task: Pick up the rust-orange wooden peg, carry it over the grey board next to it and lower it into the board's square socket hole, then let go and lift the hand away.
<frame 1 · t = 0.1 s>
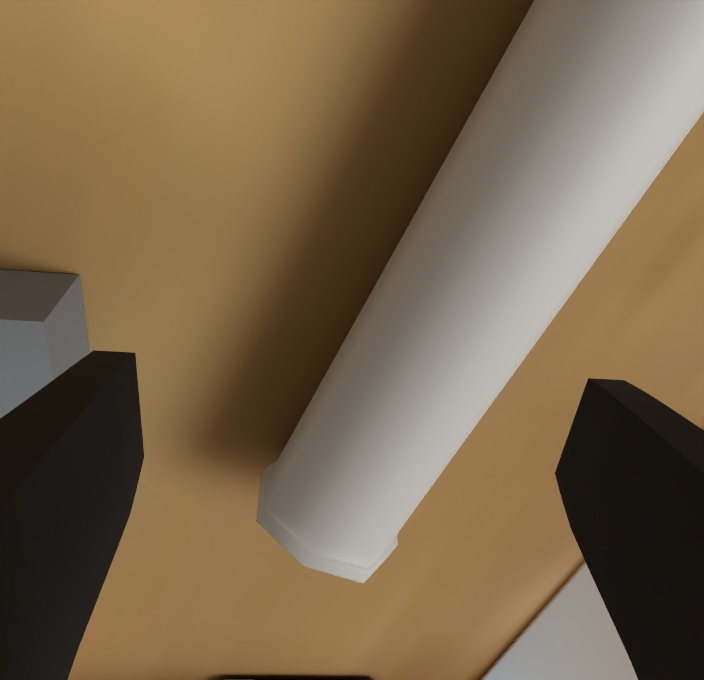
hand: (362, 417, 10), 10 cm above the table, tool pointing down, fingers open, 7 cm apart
tube: (498, 175, 19), on the table
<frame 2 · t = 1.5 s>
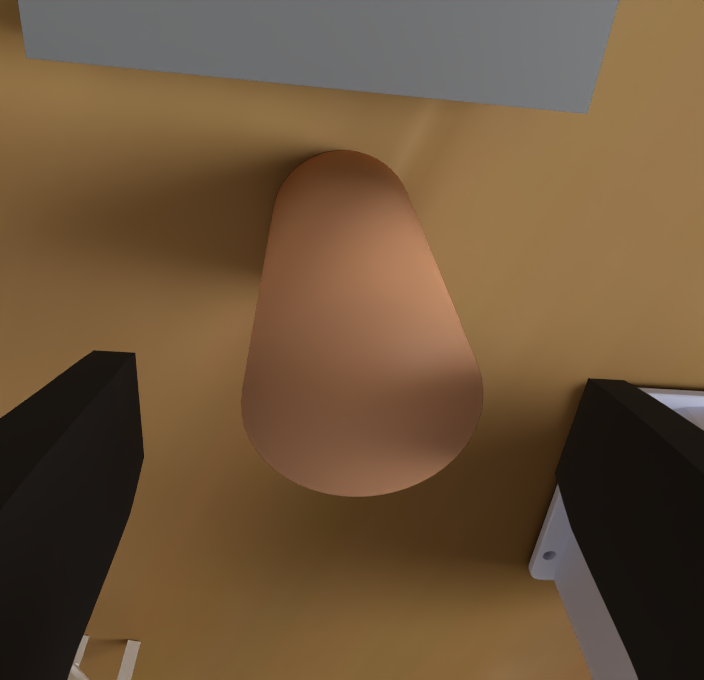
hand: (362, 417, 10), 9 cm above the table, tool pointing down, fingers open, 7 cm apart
peg: (342, 220, 18), on the table
decorative heart: (20, 622, 27), on the table
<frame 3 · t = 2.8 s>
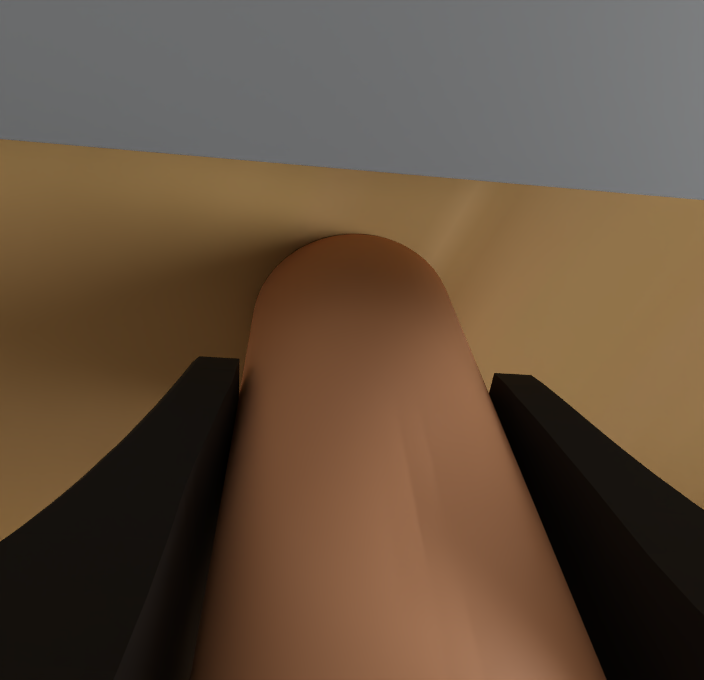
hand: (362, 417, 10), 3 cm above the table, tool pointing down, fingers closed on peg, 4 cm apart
peg: (352, 327, 13), on the table, touching gripper
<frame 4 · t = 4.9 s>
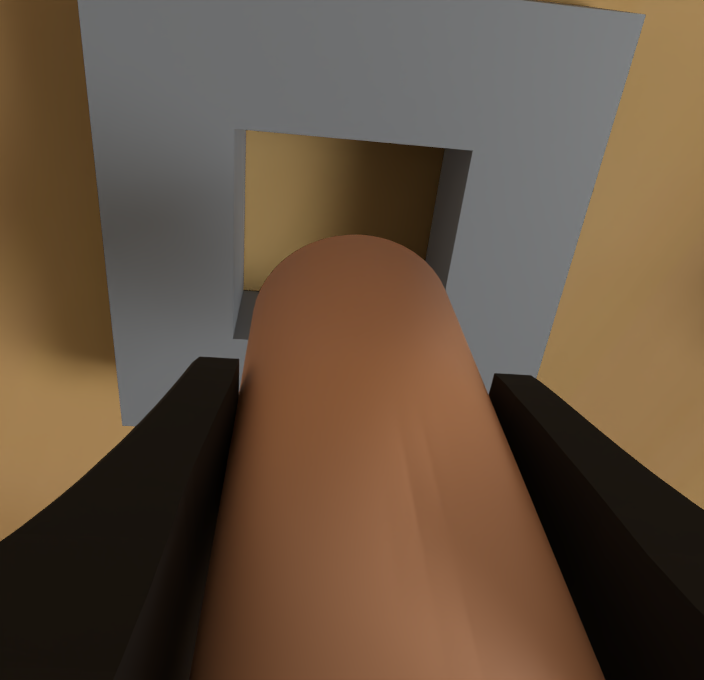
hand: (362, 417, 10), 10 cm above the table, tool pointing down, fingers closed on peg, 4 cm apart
peg: (352, 328, 13), point 7 cm above the table, touching gripper
socket board: (340, 212, 19), on the table
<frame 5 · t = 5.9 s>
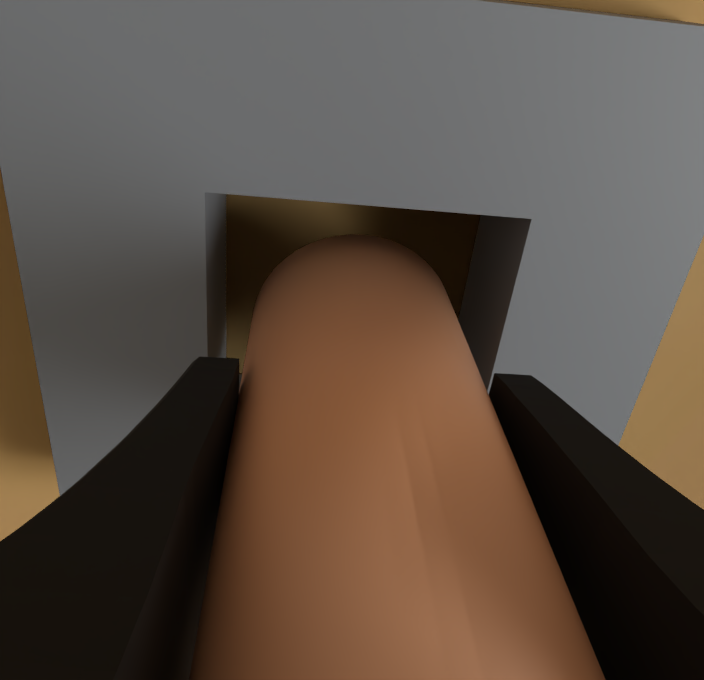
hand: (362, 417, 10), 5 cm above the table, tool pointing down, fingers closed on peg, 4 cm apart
peg: (352, 328, 13), point 2 cm above the table, touching gripper
socket board: (347, 280, 15), on the table
when the fingers open (4 cm above the table, at t = 7.0 s): peg drops 2 cm, resting in socket board.
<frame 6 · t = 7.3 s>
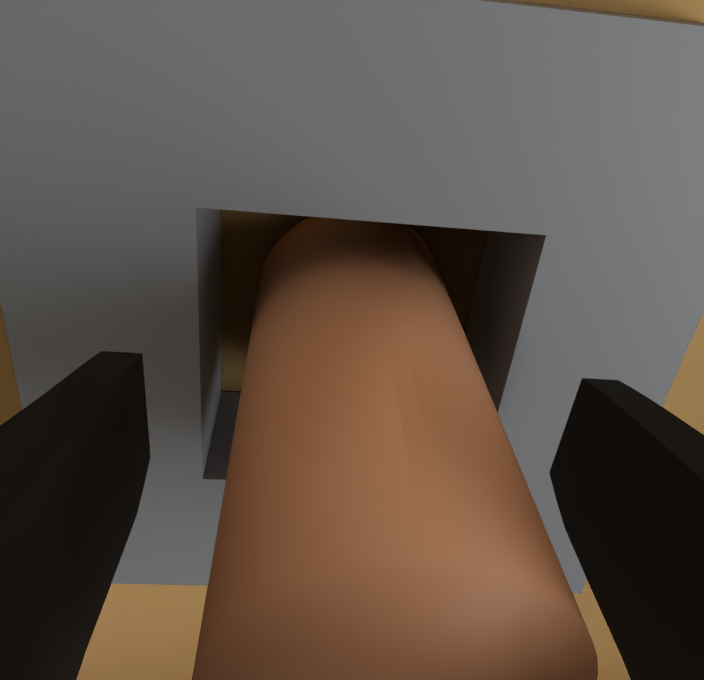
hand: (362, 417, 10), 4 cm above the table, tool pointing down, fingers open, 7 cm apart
peg: (349, 294, 14), resting in socket board
socket board: (349, 294, 14), on the table
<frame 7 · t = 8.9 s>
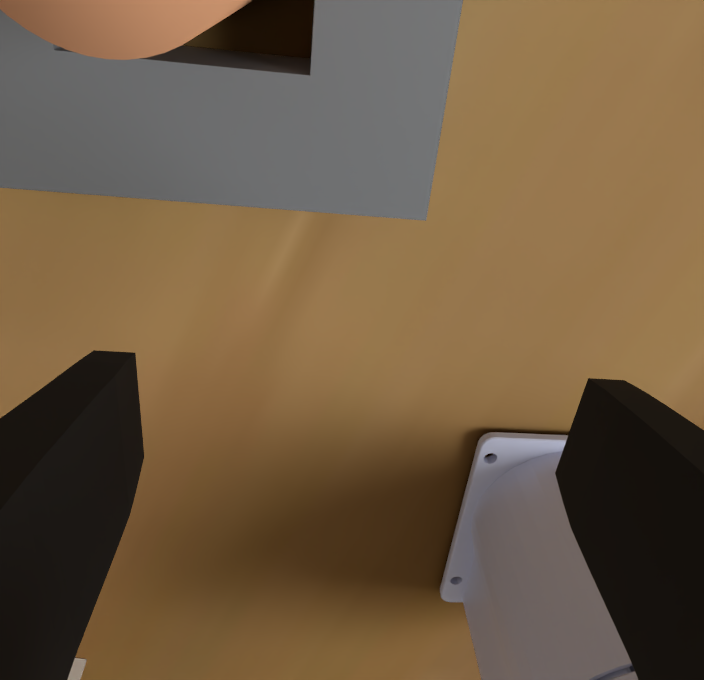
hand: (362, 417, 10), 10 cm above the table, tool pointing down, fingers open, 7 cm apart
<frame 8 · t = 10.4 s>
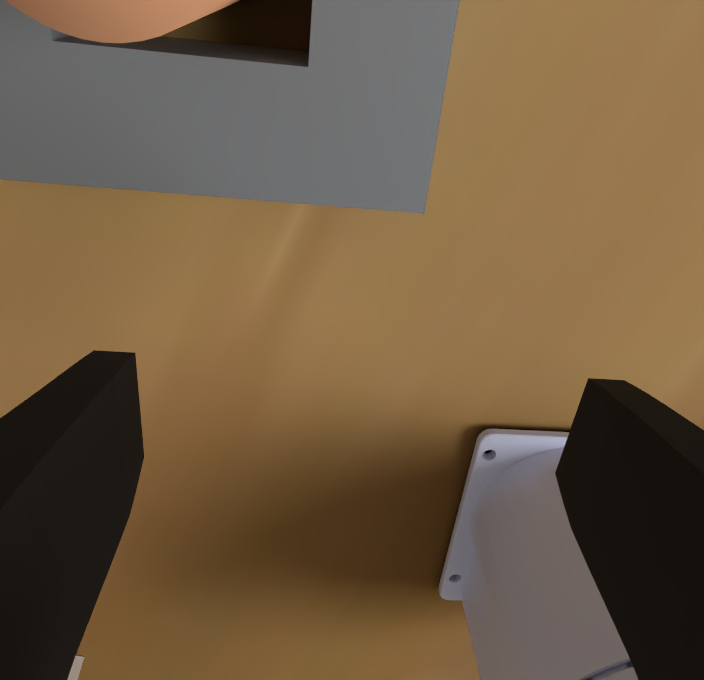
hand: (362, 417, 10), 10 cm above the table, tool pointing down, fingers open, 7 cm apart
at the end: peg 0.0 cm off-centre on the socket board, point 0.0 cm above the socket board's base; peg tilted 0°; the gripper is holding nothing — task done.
